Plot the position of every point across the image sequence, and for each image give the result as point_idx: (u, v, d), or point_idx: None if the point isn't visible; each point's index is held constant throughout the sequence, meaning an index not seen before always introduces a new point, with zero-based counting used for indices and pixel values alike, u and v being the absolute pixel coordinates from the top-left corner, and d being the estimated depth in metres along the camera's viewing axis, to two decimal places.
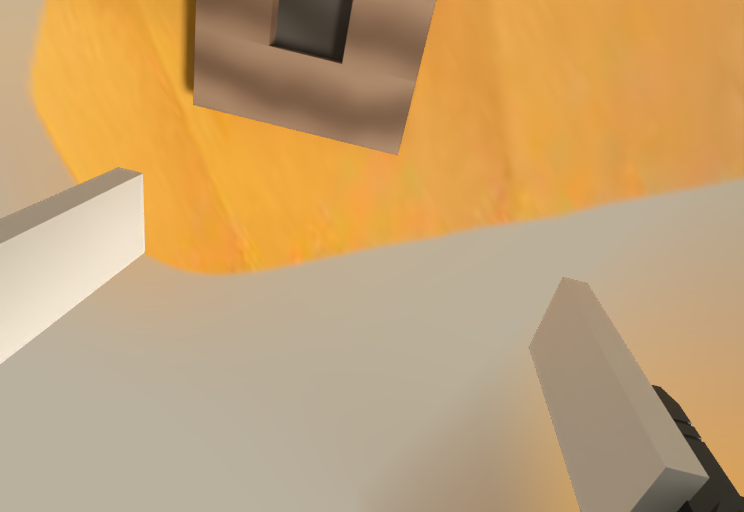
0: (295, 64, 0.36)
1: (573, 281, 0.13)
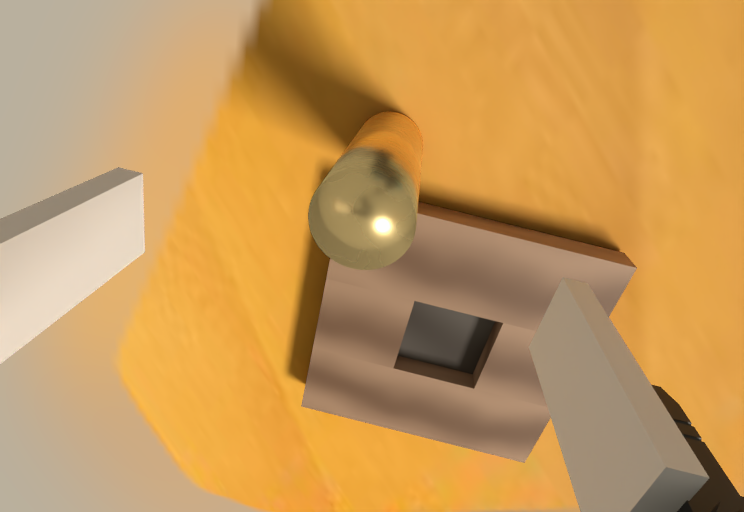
0: (421, 384, 0.33)
1: (573, 281, 0.13)
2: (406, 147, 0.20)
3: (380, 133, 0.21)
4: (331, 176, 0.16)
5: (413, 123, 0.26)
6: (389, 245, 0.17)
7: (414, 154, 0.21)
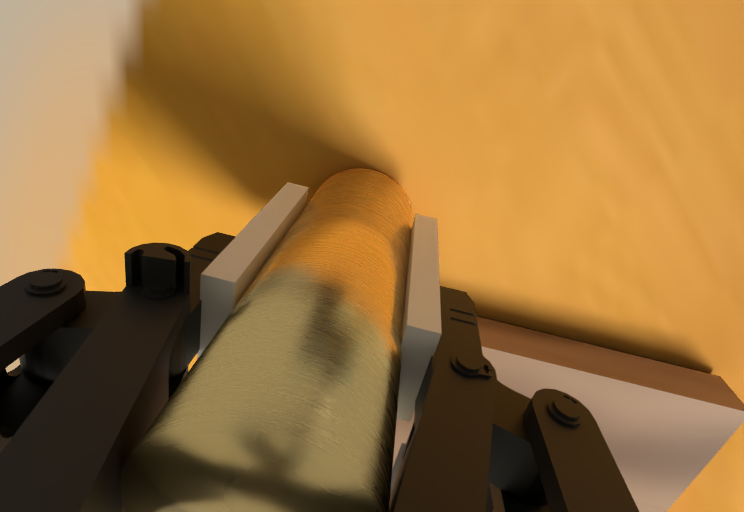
0: None
1: (423, 217, 0.15)
2: (377, 266, 0.11)
3: (329, 236, 0.11)
4: (159, 433, 0.06)
5: (397, 188, 0.16)
6: None
7: (394, 274, 0.11)
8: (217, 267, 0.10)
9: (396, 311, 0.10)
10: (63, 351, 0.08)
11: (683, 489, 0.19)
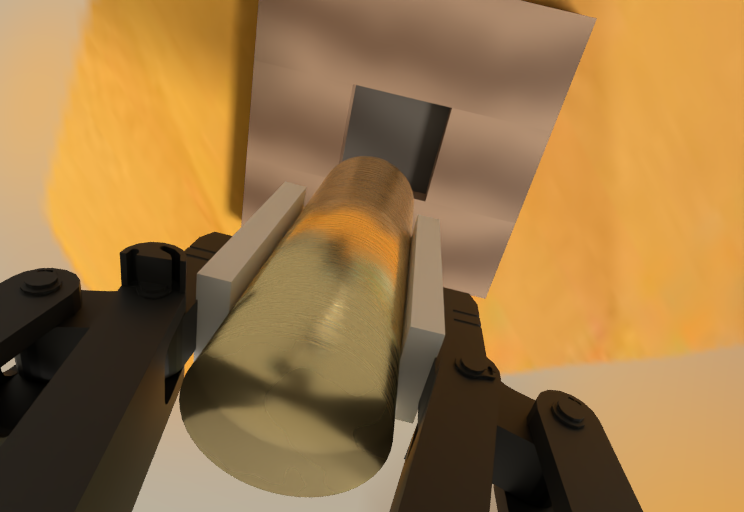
0: None
1: (426, 217, 0.15)
2: (383, 235, 0.12)
3: (340, 209, 0.13)
4: (215, 346, 0.08)
5: (399, 173, 0.18)
6: (342, 464, 0.08)
7: (397, 243, 0.13)
8: (213, 267, 0.10)
9: (399, 272, 0.12)
10: (58, 351, 0.08)
11: (559, 108, 0.26)
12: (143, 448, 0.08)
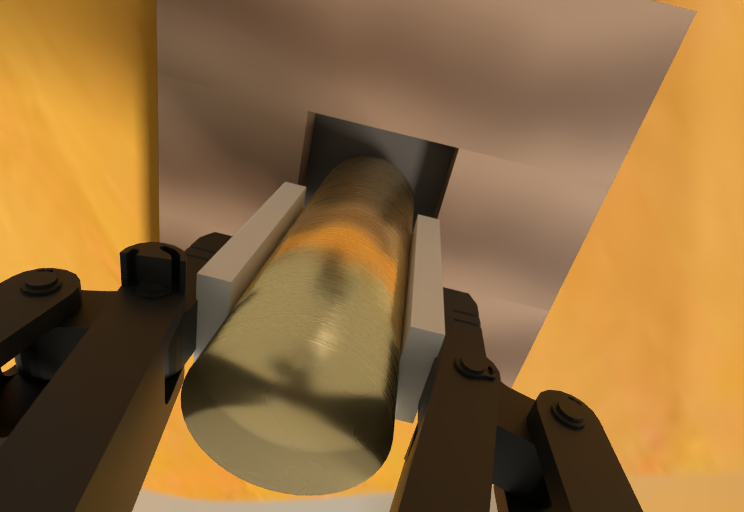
0: None
1: (426, 217, 0.15)
2: (383, 235, 0.12)
3: (341, 209, 0.13)
4: (217, 345, 0.08)
5: (399, 174, 0.18)
6: (342, 462, 0.09)
7: (397, 243, 0.13)
8: (213, 267, 0.10)
9: (399, 272, 0.12)
10: (58, 351, 0.08)
11: (626, 151, 0.17)
12: (143, 448, 0.08)
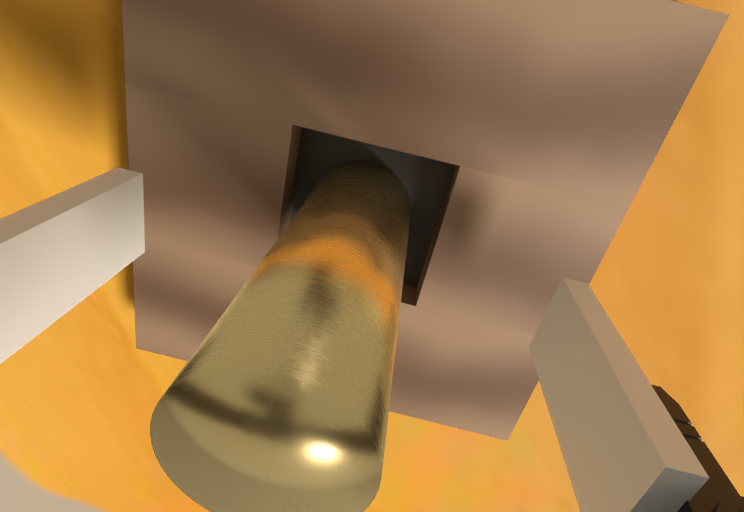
0: None
1: (573, 281, 0.13)
2: (374, 246, 0.12)
3: (330, 219, 0.12)
4: (185, 378, 0.07)
5: (395, 178, 0.17)
6: (327, 500, 0.08)
7: (390, 254, 0.12)
8: None
9: (392, 286, 0.11)
10: None
11: (646, 169, 0.15)
12: None
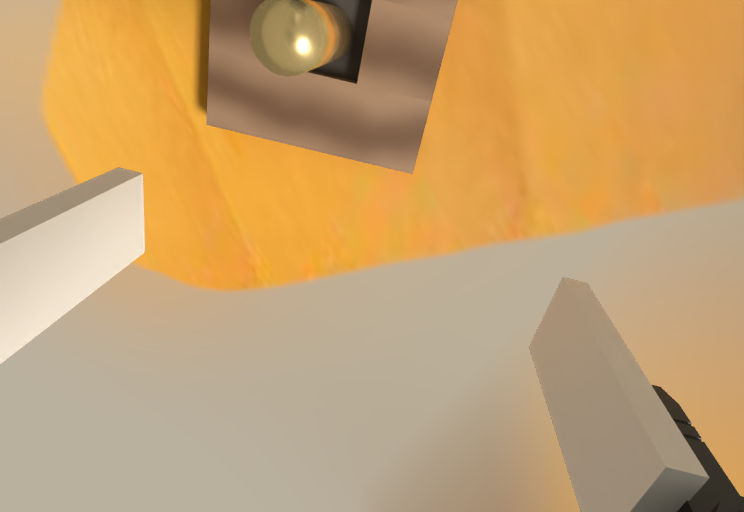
0: (309, 84, 0.36)
1: (573, 281, 0.13)
2: (326, 8, 0.28)
3: None
4: (262, 3, 0.24)
5: (344, 11, 0.34)
6: (305, 54, 0.25)
7: (333, 15, 0.29)
8: None
9: (332, 20, 0.28)
10: None
11: None
12: None
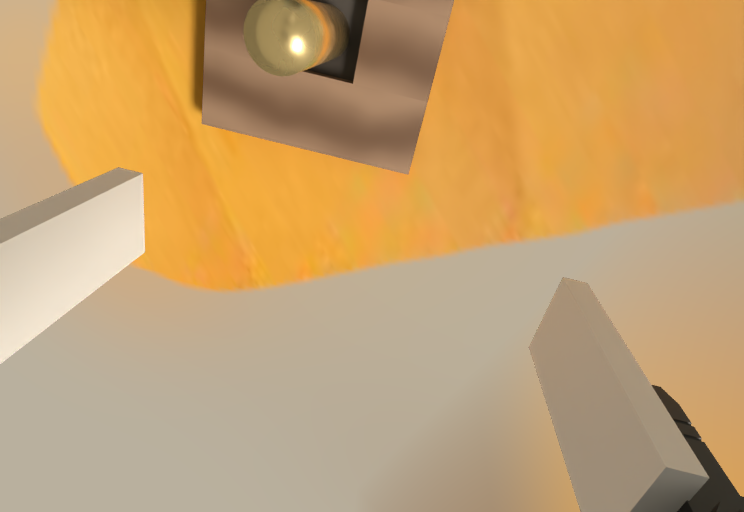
0: (305, 84, 0.35)
1: (573, 281, 0.13)
2: (321, 8, 0.28)
3: None
4: (256, 2, 0.24)
5: (340, 11, 0.34)
6: (299, 54, 0.25)
7: (329, 15, 0.29)
8: None
9: (327, 20, 0.28)
10: None
11: None
12: None
